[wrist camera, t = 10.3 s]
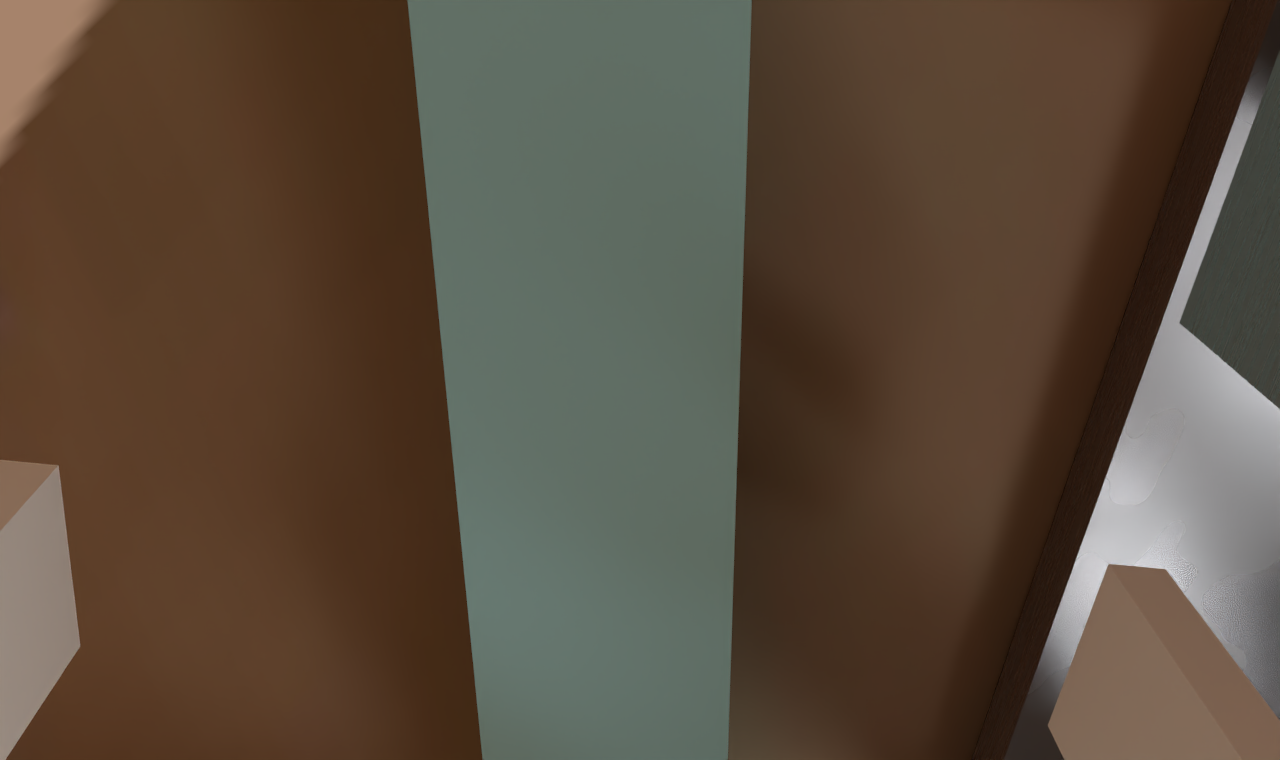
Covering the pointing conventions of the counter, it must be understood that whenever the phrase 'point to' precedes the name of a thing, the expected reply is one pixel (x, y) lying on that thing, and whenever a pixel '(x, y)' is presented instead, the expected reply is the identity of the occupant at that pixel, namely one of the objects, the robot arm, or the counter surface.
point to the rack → (1180, 410)
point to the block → (591, 358)
